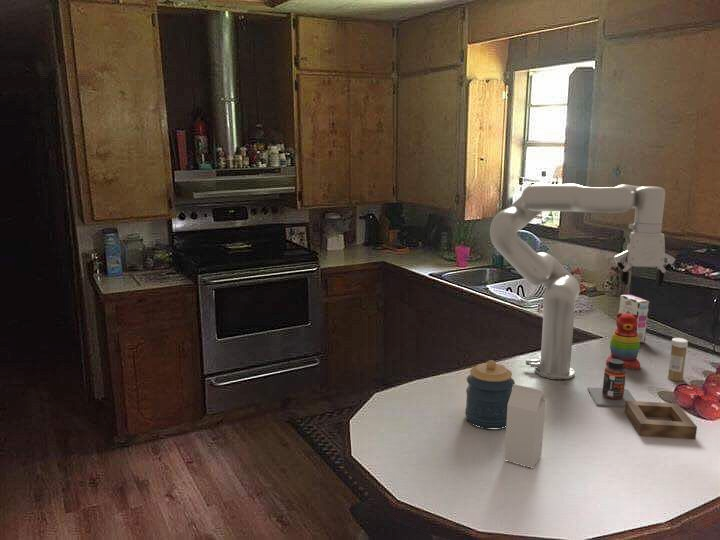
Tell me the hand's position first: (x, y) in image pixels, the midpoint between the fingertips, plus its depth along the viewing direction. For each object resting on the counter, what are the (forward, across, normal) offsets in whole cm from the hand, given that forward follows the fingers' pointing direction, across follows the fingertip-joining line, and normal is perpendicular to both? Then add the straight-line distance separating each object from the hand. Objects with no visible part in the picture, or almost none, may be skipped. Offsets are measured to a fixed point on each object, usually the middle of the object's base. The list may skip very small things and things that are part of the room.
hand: (641, 284), depth 185 cm
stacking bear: (+34, +3, +20) cm, 39 cm away
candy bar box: (+34, +13, +47) cm, 59 cm away
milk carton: (+34, -39, -49) cm, 71 cm away
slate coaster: (+33, -8, -10) cm, 36 cm away
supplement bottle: (+33, -8, -10) cm, 35 cm away
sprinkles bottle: (+34, +16, +8) cm, 38 cm away
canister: (+34, -46, -29) cm, 64 cm away
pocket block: (+33, 0, -26) cm, 42 cm away
